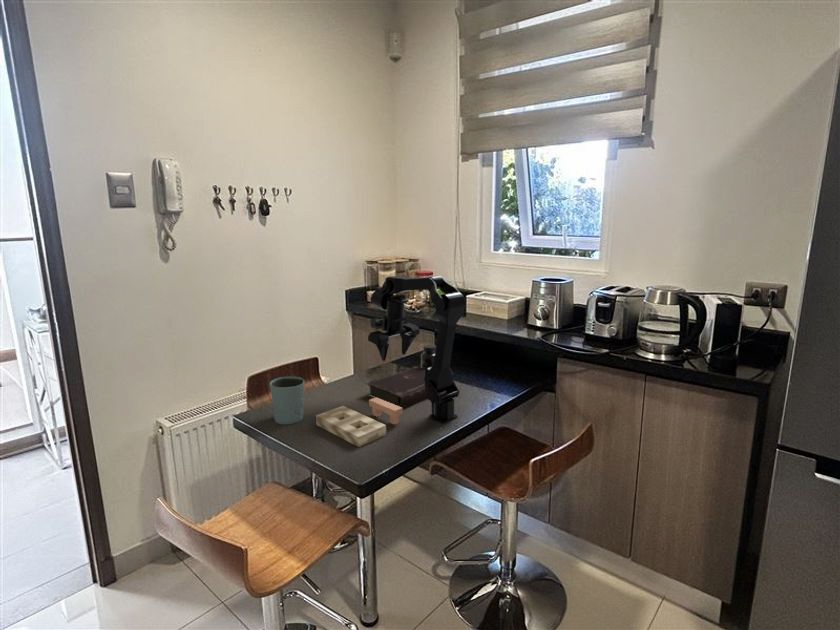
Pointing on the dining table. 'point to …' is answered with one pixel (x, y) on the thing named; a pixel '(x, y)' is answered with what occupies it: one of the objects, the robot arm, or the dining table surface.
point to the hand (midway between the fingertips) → (393, 357)
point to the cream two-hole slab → (351, 425)
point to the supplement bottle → (428, 356)
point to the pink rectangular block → (386, 409)
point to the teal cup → (287, 399)
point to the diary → (401, 387)
